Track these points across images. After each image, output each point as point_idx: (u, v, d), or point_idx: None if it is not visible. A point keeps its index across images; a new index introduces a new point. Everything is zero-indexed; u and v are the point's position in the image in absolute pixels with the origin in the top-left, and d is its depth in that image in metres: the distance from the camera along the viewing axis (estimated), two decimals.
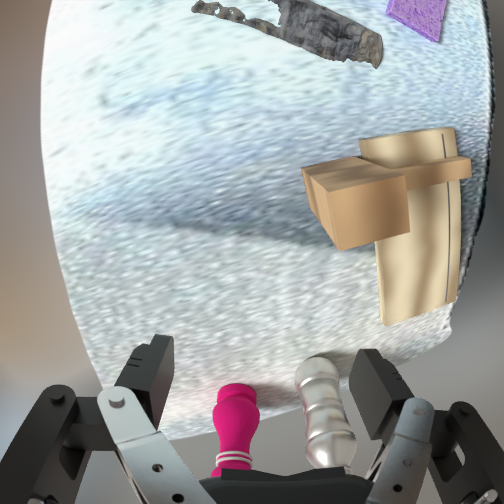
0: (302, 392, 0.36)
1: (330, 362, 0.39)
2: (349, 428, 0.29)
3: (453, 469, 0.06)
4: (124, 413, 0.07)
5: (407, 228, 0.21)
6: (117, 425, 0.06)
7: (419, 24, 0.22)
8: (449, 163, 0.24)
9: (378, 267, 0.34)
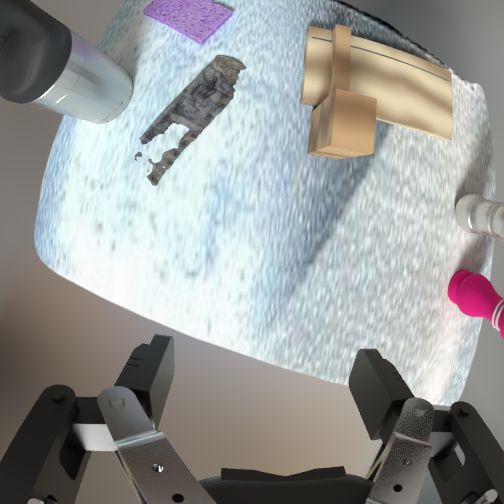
0: (476, 229, 0.35)
1: (464, 196, 0.38)
2: None
3: (453, 469, 0.06)
4: (123, 413, 0.07)
5: (373, 99, 0.25)
6: (117, 425, 0.06)
7: (215, 22, 0.32)
8: (336, 43, 0.29)
9: (403, 125, 0.36)
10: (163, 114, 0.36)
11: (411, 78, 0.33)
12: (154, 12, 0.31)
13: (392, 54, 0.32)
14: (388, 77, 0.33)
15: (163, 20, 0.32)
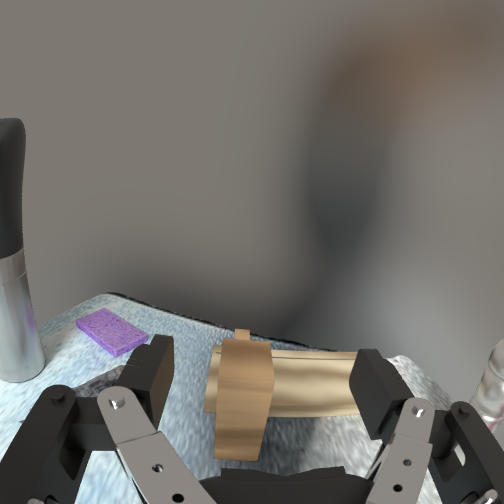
0: None
1: None
2: (487, 362, 0.22)
3: (453, 469, 0.06)
4: (123, 413, 0.07)
5: (266, 342, 0.28)
6: (117, 425, 0.06)
7: (131, 339, 0.42)
8: None
9: (330, 412, 0.32)
10: None
11: (324, 368, 0.39)
12: (84, 323, 0.44)
13: (299, 355, 0.42)
14: (299, 373, 0.38)
15: (89, 330, 0.42)
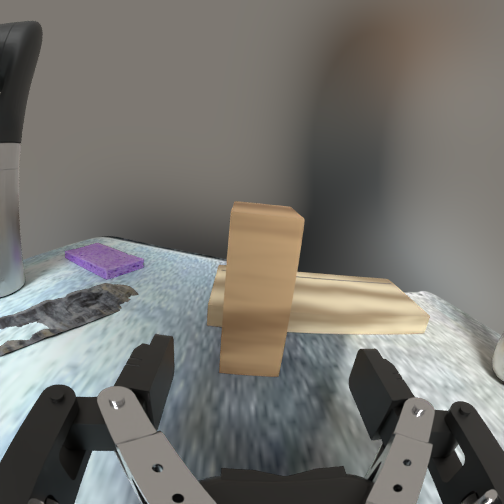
0: None
1: (494, 352, 0.21)
2: None
3: (453, 469, 0.06)
4: (123, 413, 0.07)
5: None
6: (117, 425, 0.06)
7: (126, 262, 0.38)
8: None
9: (362, 328, 0.28)
10: (30, 309, 0.23)
11: (347, 287, 0.35)
12: (74, 253, 0.40)
13: (316, 276, 0.38)
14: (319, 288, 0.34)
15: (78, 258, 0.38)
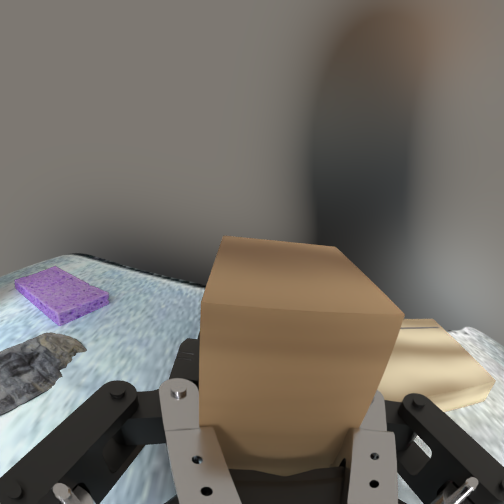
0: None
1: None
2: None
3: (417, 459, 0.07)
4: (182, 404, 0.08)
5: (328, 247, 0.12)
6: (185, 415, 0.07)
7: (84, 300, 0.26)
8: None
9: None
10: None
11: None
12: (23, 283, 0.27)
13: None
14: None
15: (28, 291, 0.26)
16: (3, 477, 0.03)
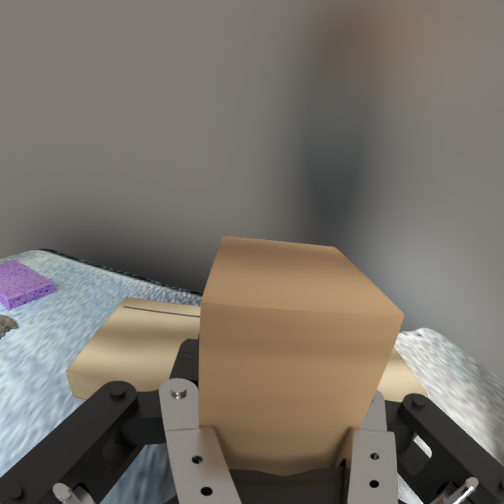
0: None
1: None
2: None
3: (417, 459, 0.07)
4: (182, 404, 0.08)
5: (328, 247, 0.12)
6: (185, 415, 0.07)
7: (31, 288, 0.26)
8: None
9: None
10: None
11: None
12: None
13: None
14: None
15: None
16: (3, 477, 0.03)
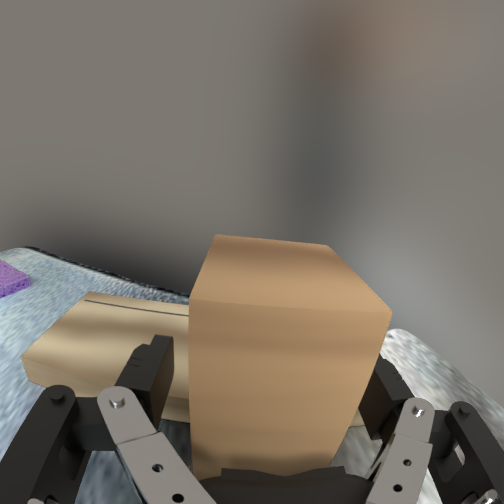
0: None
1: None
2: None
3: (453, 469, 0.06)
4: (124, 413, 0.07)
5: (320, 246, 0.12)
6: (117, 425, 0.06)
7: (9, 282, 0.26)
8: None
9: None
10: None
11: None
12: None
13: None
14: None
15: None
16: None
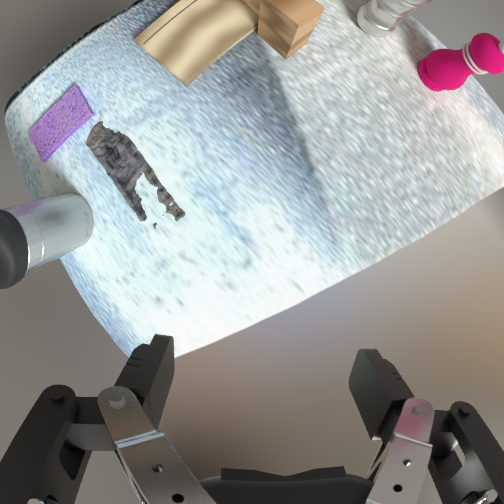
0: (389, 25, 0.30)
1: (357, 15, 0.33)
2: None
3: (453, 469, 0.06)
4: (124, 413, 0.07)
5: None
6: (117, 425, 0.06)
7: (78, 98, 0.36)
8: None
9: None
10: (124, 195, 0.42)
11: None
12: (47, 150, 0.39)
13: None
14: (216, 7, 0.32)
15: (58, 143, 0.38)
16: None
